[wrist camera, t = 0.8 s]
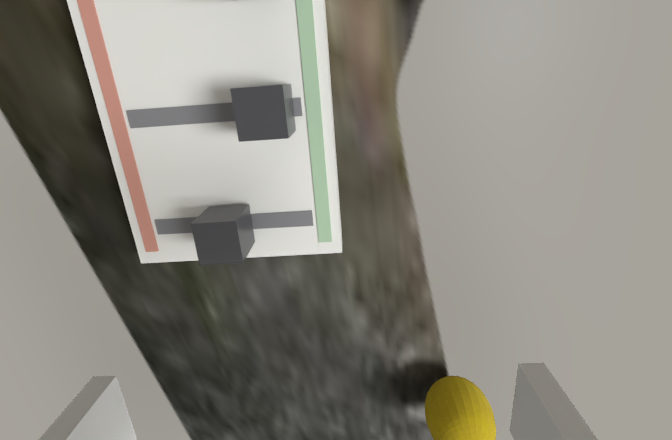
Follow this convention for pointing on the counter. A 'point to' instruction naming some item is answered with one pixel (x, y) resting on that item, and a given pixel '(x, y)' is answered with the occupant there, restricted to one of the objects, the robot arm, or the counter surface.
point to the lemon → (458, 411)
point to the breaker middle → (263, 112)
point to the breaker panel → (213, 118)
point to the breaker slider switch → (223, 234)
